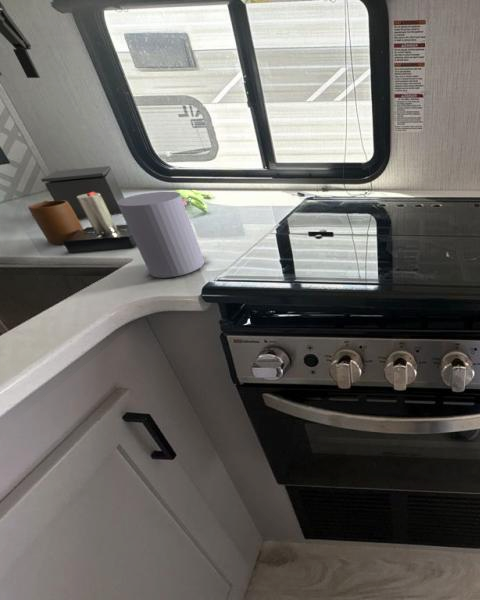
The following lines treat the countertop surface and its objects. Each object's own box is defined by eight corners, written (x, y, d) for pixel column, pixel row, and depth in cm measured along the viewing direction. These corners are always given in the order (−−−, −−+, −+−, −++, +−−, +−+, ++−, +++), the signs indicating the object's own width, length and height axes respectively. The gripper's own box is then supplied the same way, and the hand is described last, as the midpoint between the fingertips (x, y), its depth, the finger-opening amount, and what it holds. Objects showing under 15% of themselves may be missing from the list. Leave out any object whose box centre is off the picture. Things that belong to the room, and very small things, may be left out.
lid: (103, 176, 100) (102, 173, 99) (42, 182, 93) (40, 179, 93) (111, 168, 113) (109, 166, 112) (57, 173, 107) (56, 170, 106)
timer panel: (69, 253, 79) (61, 240, 78) (92, 238, 88) (86, 226, 86) (133, 247, 82) (128, 235, 80) (150, 233, 90) (146, 222, 88)
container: (141, 281, 67) (105, 207, 59) (162, 260, 75) (133, 193, 67) (195, 276, 68) (168, 203, 60) (210, 256, 77) (188, 190, 69)
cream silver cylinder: (112, 233, 81) (93, 195, 77) (91, 235, 81) (71, 196, 76) (121, 227, 85) (103, 191, 80) (101, 229, 84) (82, 192, 79)
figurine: (137, 224, 97) (128, 205, 94) (157, 201, 118) (151, 185, 115) (206, 216, 102) (200, 198, 99) (214, 195, 123) (209, 180, 121)
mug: (45, 236, 89) (23, 201, 84) (80, 228, 94) (62, 195, 89) (51, 247, 82) (28, 210, 77) (90, 238, 87) (70, 203, 82)
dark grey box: (121, 213, 106) (105, 177, 101) (65, 220, 100) (44, 183, 94) (125, 201, 119) (111, 168, 113) (75, 207, 112) (57, 173, 107)
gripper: (-16, -18, 87) (32, 78, 98) (-121, -54, 66) (-44, 74, 77) (17, -17, 88) (61, 78, 99) (-76, -52, 67) (-7, 74, 79)
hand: (15, 76), depth 88 cm, fingers open, 13 cm apart
